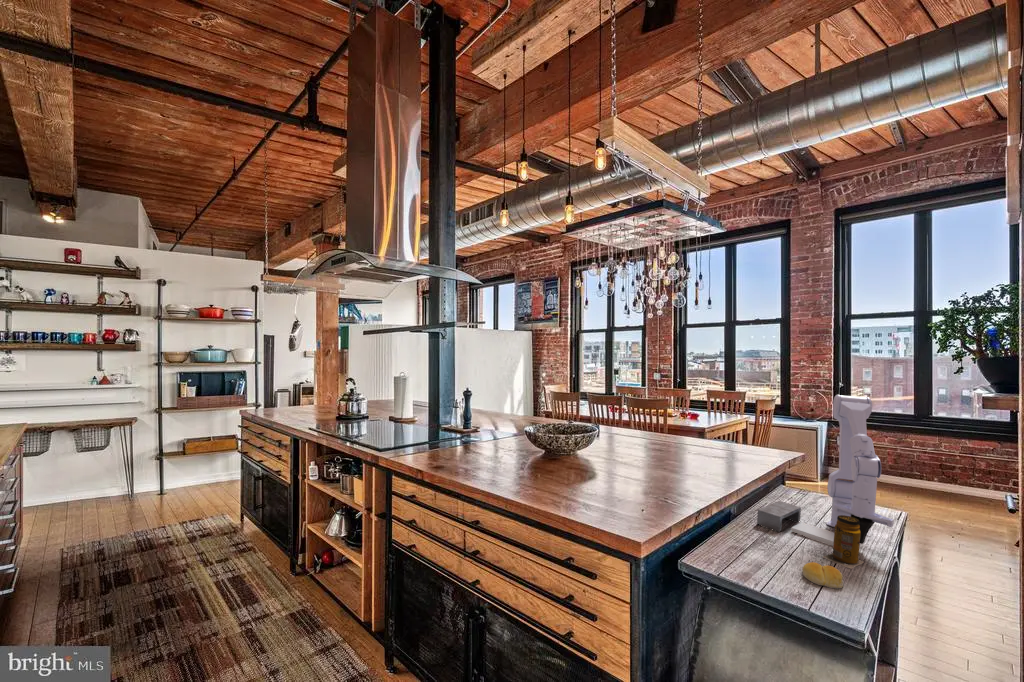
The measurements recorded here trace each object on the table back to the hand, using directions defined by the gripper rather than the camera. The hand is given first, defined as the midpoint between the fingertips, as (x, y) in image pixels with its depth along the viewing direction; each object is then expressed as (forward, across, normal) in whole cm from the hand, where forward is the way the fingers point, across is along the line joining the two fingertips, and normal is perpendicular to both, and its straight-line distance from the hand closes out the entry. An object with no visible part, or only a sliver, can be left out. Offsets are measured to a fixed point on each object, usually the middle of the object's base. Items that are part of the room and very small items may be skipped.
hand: (860, 542), depth 143 cm
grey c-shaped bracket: (+2, -23, 0) cm, 23 cm away
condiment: (+3, 0, -12) cm, 12 cm away
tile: (+3, -11, 0) cm, 11 cm away
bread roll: (+3, +1, -30) cm, 30 cm away
